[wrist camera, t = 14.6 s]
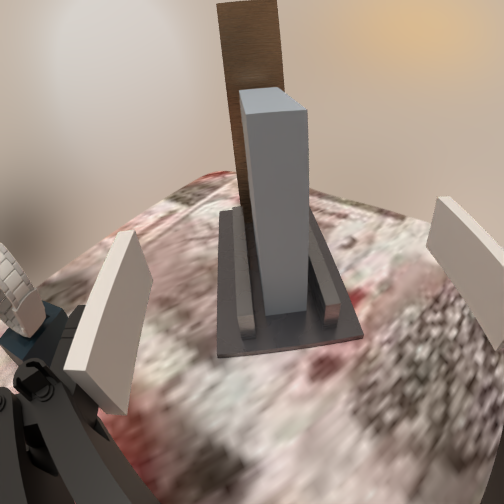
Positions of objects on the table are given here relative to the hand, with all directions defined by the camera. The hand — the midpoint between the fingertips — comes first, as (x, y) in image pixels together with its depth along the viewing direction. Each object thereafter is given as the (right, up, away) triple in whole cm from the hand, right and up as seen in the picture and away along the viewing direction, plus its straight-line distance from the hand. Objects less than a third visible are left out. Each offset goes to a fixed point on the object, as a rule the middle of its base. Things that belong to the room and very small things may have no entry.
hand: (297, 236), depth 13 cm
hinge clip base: (0, -1, +15) cm, 15 cm away
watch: (-19, -9, +8) cm, 23 cm away
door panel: (0, -2, +14) cm, 14 cm away
